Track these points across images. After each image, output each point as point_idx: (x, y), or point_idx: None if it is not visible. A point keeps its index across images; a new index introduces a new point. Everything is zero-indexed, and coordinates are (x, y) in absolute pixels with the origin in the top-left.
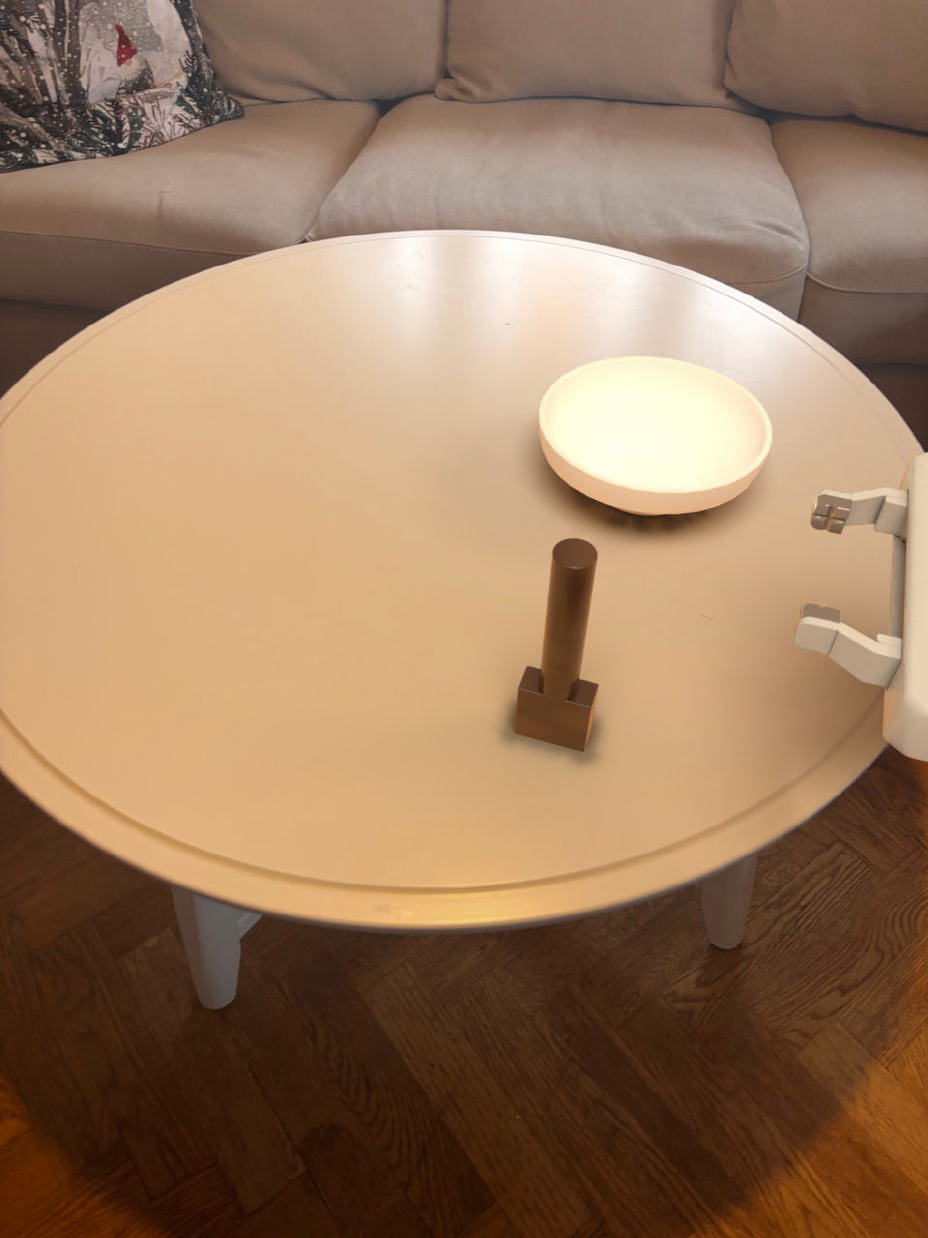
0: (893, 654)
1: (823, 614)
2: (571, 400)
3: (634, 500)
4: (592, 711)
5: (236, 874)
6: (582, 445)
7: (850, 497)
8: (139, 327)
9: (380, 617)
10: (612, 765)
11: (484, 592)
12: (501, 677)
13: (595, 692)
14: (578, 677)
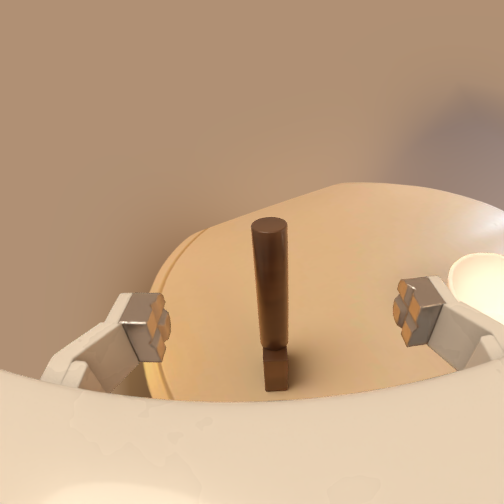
0: (47, 379)
1: (135, 306)
2: (495, 272)
3: None
4: (274, 371)
5: (157, 289)
6: (485, 297)
7: (449, 301)
8: (397, 187)
9: (313, 282)
10: None
11: (360, 310)
12: (304, 337)
13: (278, 360)
14: (271, 338)
